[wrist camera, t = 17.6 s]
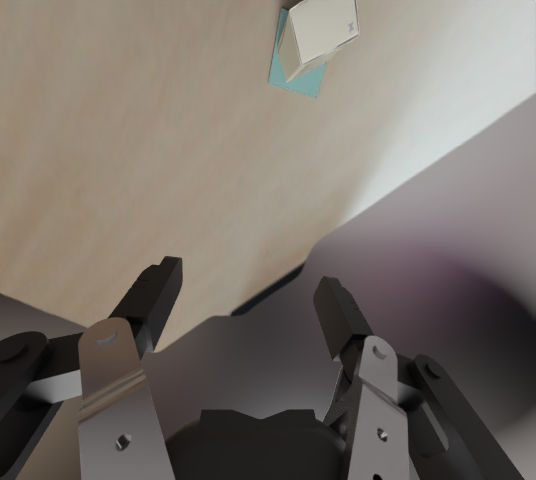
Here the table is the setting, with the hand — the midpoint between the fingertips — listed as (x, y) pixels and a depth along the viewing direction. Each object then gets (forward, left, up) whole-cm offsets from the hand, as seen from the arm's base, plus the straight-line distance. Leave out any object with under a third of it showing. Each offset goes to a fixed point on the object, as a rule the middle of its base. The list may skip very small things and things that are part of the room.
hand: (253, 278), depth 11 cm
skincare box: (+4, +17, -30) cm, 35 cm away
